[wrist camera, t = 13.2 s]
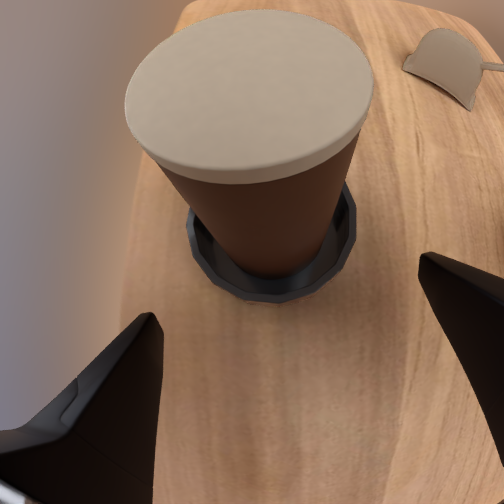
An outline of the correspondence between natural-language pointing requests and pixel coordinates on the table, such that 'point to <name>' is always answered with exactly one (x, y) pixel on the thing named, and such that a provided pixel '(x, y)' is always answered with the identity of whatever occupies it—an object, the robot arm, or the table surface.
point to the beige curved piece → (450, 64)
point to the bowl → (285, 289)
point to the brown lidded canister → (255, 129)
